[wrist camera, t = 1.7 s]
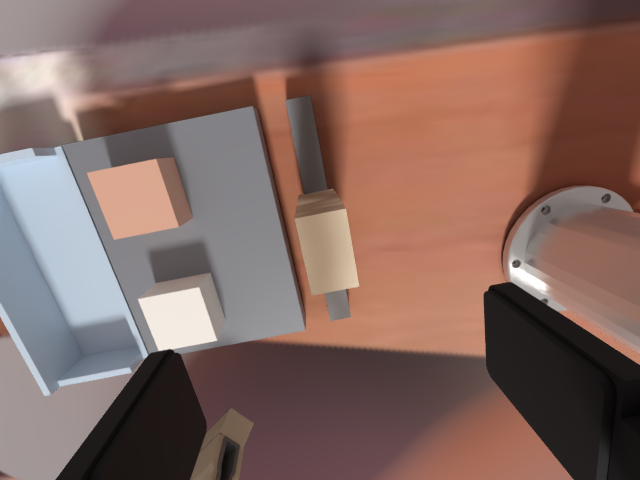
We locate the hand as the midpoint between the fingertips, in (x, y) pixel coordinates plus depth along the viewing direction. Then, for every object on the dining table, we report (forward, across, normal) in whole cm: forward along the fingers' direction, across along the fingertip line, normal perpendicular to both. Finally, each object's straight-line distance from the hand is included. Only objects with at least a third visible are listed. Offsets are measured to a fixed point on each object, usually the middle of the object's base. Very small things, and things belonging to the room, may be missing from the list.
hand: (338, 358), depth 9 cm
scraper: (+21, 0, 0) cm, 21 cm away
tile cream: (+18, +12, +5) cm, 23 cm away
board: (+20, +10, 0) cm, 23 cm away
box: (+21, +22, 0) cm, 31 cm away
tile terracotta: (+18, +12, -5) cm, 22 cm away
